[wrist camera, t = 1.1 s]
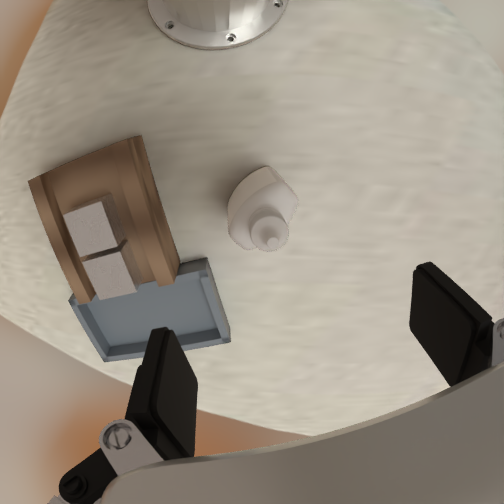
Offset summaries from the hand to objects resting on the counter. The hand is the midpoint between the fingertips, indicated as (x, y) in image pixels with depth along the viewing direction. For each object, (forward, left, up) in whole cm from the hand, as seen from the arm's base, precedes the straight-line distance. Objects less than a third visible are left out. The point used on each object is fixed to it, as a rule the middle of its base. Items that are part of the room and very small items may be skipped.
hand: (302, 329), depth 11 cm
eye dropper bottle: (0, 0, -20) cm, 20 cm away
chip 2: (+2, -14, -17) cm, 22 cm away
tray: (+10, -14, -20) cm, 26 cm away
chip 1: (-2, -14, -17) cm, 22 cm away
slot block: (-2, -14, -20) cm, 24 cm away
